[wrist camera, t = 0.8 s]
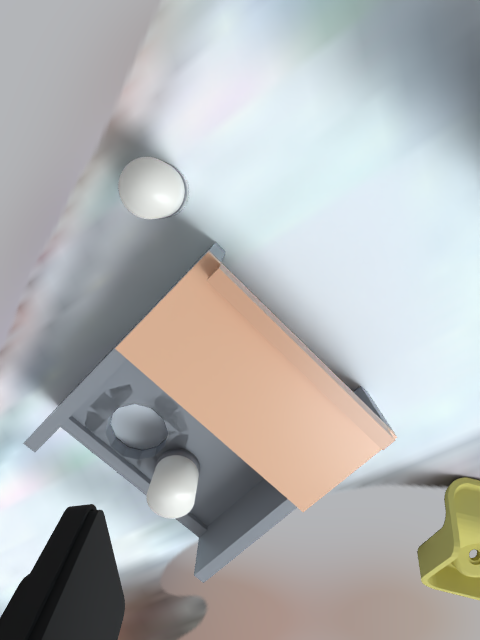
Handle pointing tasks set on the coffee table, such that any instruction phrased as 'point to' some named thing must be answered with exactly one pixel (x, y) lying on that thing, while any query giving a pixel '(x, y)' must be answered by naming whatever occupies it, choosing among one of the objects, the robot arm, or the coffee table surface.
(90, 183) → the coffee table surface
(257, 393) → the lid
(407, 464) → the coffee table surface
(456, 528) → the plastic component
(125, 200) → the peg
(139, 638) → the coffee table surface
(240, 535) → the housing
